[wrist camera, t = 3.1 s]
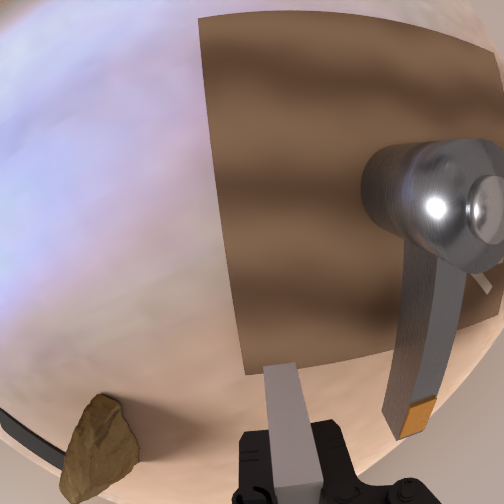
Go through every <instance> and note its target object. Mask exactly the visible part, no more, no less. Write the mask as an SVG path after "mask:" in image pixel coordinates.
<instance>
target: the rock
mask: <svg viewBox="0 0 504 504" xmlns="http://www.w3.org/2000/svg"><path fill="white" fill-rule="evenodd" d="M139 449H140V448H139V446H138V444H137V441H136V439H135V438H134V435H133V434H132V432H131V431H130V429H129V426H128V424H127V422H126V421H125V420H124V419H123V417H122V412H121V407H120V405H119V403H118V402H117V401H115V400H112V399H110V398H107V397H105V396H104V395H100V394H97V395H96V396H95V397H94V398H93V399H92V400H91V402H90V404H89V405H87V406H86V408H85V409H84V411H83V414H82V416H81V418H80V420H79V423H78V425H77V426H76V427H75V429H74V432H73V434H72V438H71V441H70V443H69V445H68V449H67V451H66V454H65V457H64V465H63V469H62V473H61V478H60V483H59V488H60V491H61V493H62V494H63V495H64V497H65V498H66V499H67V500H68V501H69V502H70V503H71V504H79V503H80V502H83V501H85V500H88V499H90V498H92V497H94V496H97V495H98V494H100V493H101V492H102V491H103V490H105V489H107V488H108V487H109V486H110V485H111V484H113V483H115V482H118V481H119V480H120V479H122V478H124V477H125V476H126V475H127V474H129V473H130V472H131V471H132V469H133V466H134V465H136V464H137V463H139V460H138V454H139Z"/></svg>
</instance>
